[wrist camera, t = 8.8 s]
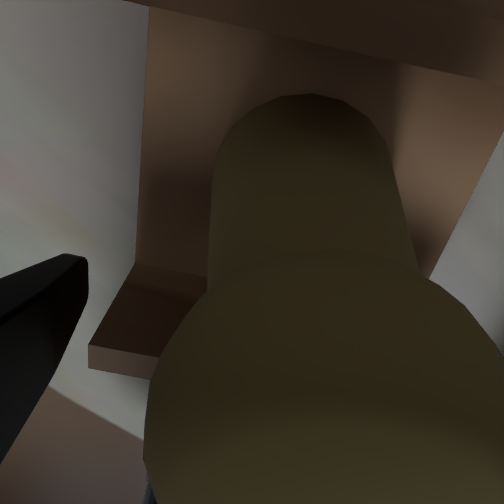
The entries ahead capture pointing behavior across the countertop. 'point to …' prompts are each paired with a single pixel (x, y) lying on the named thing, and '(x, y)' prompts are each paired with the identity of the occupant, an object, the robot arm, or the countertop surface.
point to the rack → (294, 83)
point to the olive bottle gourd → (321, 337)
